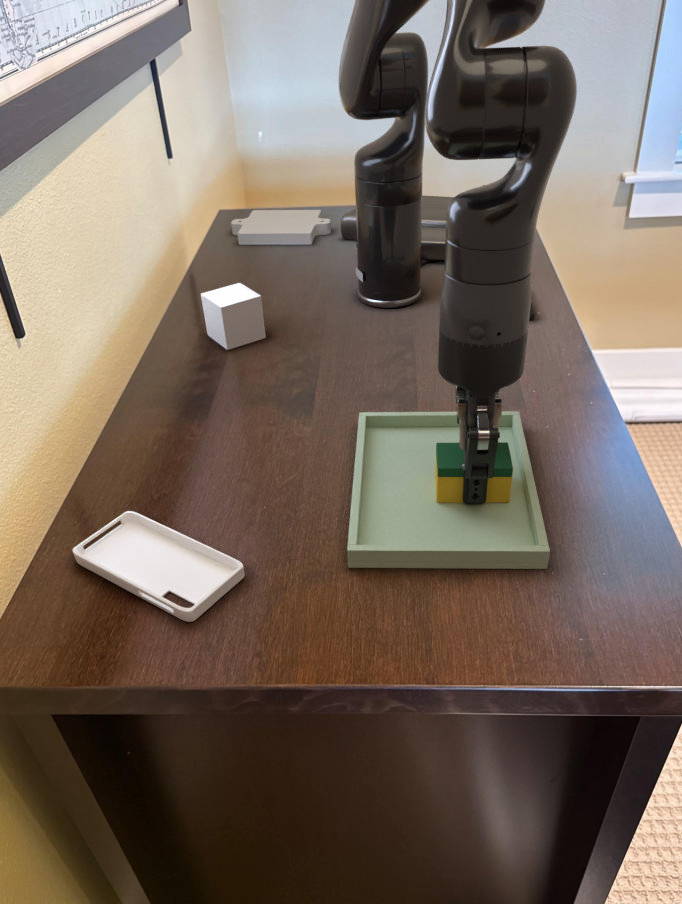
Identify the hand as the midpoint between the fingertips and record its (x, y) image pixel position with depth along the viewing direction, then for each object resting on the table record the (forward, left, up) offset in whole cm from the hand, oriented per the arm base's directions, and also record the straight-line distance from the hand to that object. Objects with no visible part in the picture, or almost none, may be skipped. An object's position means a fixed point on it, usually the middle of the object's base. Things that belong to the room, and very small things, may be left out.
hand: (472, 485), depth 76 cm
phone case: (+11, -29, -1) cm, 31 cm away
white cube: (-37, -30, -1) cm, 47 cm away
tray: (-1, -3, -1) cm, 3 cm away
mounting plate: (-80, -29, -1) cm, 85 cm away
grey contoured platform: (-75, -3, -1) cm, 75 cm away
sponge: (0, 0, 0) cm, 0 cm away
